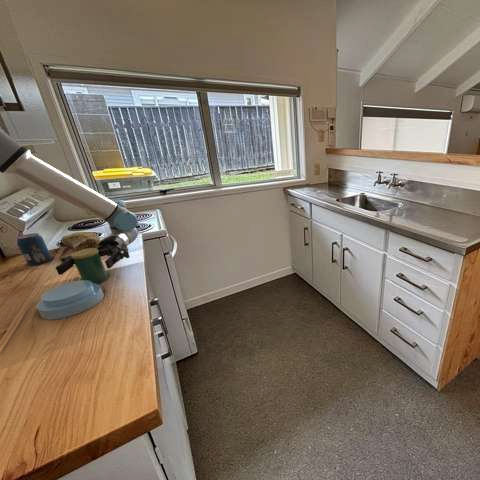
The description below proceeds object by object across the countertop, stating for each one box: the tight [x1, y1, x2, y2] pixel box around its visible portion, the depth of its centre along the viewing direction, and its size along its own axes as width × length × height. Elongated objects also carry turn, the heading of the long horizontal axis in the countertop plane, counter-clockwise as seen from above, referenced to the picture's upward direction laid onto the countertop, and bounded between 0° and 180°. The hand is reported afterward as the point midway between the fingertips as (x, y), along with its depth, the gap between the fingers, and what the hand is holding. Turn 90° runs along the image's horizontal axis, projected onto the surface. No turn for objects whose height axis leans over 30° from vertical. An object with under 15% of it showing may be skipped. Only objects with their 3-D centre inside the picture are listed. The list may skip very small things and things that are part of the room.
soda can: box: [16, 232, 53, 266], centre depth 102 cm, size 7×7×12 cm
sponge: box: [60, 231, 101, 252], centre depth 118 cm, size 13×8×20 cm
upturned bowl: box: [36, 279, 105, 321], centre depth 75 cm, size 14×14×5 cm
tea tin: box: [70, 248, 109, 285], centre depth 87 cm, size 7×7×11 cm
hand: (83, 267), depth 84 cm, fingers open, 13 cm apart
